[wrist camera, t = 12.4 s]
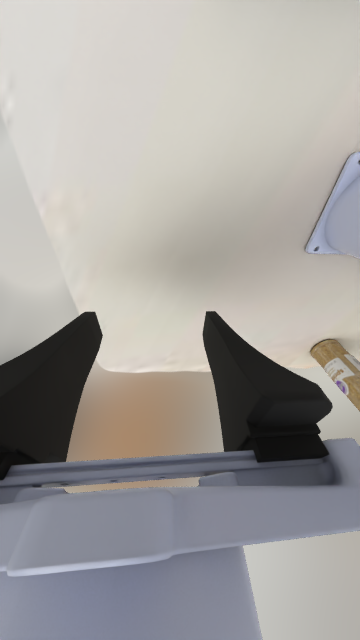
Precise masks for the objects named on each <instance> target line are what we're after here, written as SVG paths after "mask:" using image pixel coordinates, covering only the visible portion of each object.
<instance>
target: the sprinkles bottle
mask: <svg viewBox="0 0 360 640" xmlns="http://www.w3.org/2000/svg"><path fill="white" fill-rule="evenodd" d="M311 356H312V357H313V358H315V359H316V360H317V362H318V363H319V364H320V365H321V366H322V367H323V369H324V370H325V372H326V373H327V374H328V375H329V377H330V378H331V379H332V380H333V381H334V382H335V384H336V385H337V386H338V387H339V388H340V389H341V391H342V392H343V393H344V394H345V395H346V396H347V397H348V398H349V399H350V401H351V402H352V403H353V404H354V405H355V406H356V408H357V409H358V410H359V411H360V362H359V361H358V360H357V359H356V358H355V357H353V356H352V355H350V354H349V353H348V352H347V351H346V350H345V349H344V348H343V347H342V346H341V345H340V344H339V342H338V341H336V340H326V341H323V342H321V343H319V344H317V345H316V346H315V347H314V348H313V349H312V351H311Z"/></svg>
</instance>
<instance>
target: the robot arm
mask: <svg viewBox="0 0 360 640" xmlns="http://www.w3.org/2000/svg"><path fill="white" fill-rule="evenodd" d="M359 160H360V152H356V153H353V154H352V155H351V156H350V157H349V158H348V160H347V162H346V164H345V166H344V168H343V170H342V172H341V174H340V177H339V179H338V181H337V183H336V185H335V187H334V189H333V191H332V194H331V196H330V198H329V200H328V202H327V204H326V206H325V208H324V210H323V213H322V215H321V217H320V219H319V221H318V223H317V225H316V227H315V230H314V232H313V234H312V236H311V238H310V240H309V242H308V244H307V246H306V249H305V251H306V252H307V253H311V254H348V255H351V256H353V257H356V258H358V259H360V163H359V164H358V162H359ZM315 247H317V248H316V249H315ZM314 249H315V250H314ZM102 336H103V335H102V332H101V329H100V325H99V322H98V319H97V316H96V313H95V312H84V313H83V314H81V315H80V316H79V317H77V318H76V319H74V320H73V321H72V322H70V323H69V324H68V325H66V326H65V327H63V328H62V329H61V330H59V331H58V332H57V333H55V334H54V335H52V336H51V337H49V338H48V339H46V340H45V341H43V342H42V343H40V344H39V345H37V346H35V347H34V348H32V349H31V350H29V351H27V352H25V353H24V354H22V355H20V356H18V357H16V358H14V359H12V360H10V361H8V362H6V363H4V364H2V365H0V640H262V635H261V631H260V626H259V621H258V616H257V611H256V607H255V602H254V597H253V592H252V588H251V583H250V578H249V573H248V568H247V564H246V559H245V555H244V550H243V545H251V544H259V543H266V542H274V541H282V540H290V539H298V538H306V537H313V536H321V535H330V534H337V533H345V532H353V531H360V446H359V445H358V444H357V442H356V441H355V439H353V438H342V439H329V440H325V441H321V439H320V437H319V435H318V434H320V432H321V431H320V429H319V427H318V426H317V424H316V423H317V422H319V421H320V420H321V419H322V418H324V417H325V416H326V415H328V414H329V413H330V411H331V409H332V403H331V402H330V400H329V399H328V398H327V396H326V395H325V394H324V392H323V391H322V389H321V388H320V387H319V386H318V385H317V384H316V383H313V382H311V381H309V380H307V379H305V378H303V377H301V376H299V375H297V374H295V373H293V372H291V371H289V370H288V369H286V368H284V367H282V366H280V365H279V364H277V363H275V362H274V361H272V360H271V359H269V358H268V357H266V356H264V355H263V354H262V353H260V352H259V351H257V350H256V349H255V348H253V347H252V346H251V345H249V344H248V343H247V342H246V341H245V340H243V339H242V338H241V337H240V336H239V335H238V334H237V333H236V332H235V331H234V330H233V329H232V328H230V327H229V325H228V324H227V323H226V322H225V321H224V320H223V319H222V318H221V317H220V316H219V315H218V314H217V313H216V312H215V311H206V316H205V322H204V328H203V341H204V347H205V351H206V354H207V358H208V361H209V365H210V368H211V372H212V375H213V379H214V384H215V390H216V396H217V402H218V408H219V415H220V422H221V429H222V438H223V446H224V452H218V453H202V454H186V455H172V456H171V455H170V456H155V457H140V458H139V457H138V458H123V459H107V460H91V461H75V462H66V458H67V453H68V448H69V442H70V438H71V434H72V429H73V425H74V421H75V417H76V413H77V409H78V405H79V402H80V398H81V395H82V391H83V388H84V385H85V382H86V380H87V377H88V375H89V372H90V370H91V368H92V365H93V363H94V361H95V358H96V356H97V353H98V351H99V348H100V344H101V340H102ZM203 476H205V477H203ZM189 477H201V478H200V479H199V486H197V487H149V488H129V489H115V490H103V491H93V492H81V493H67V492H66V491H65V490H64V489H62V488H52V487H66V486H79V485H93V484H106V483H121V482H134V481H148V480H161V479H176V478H189Z"/></svg>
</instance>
